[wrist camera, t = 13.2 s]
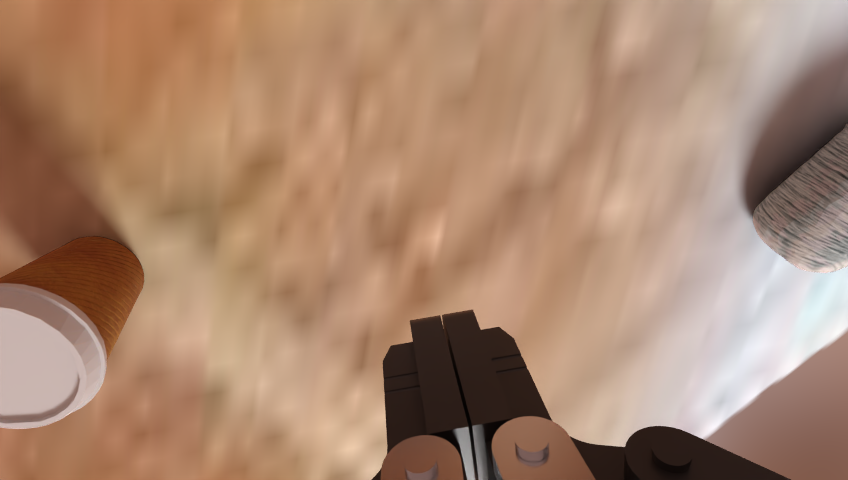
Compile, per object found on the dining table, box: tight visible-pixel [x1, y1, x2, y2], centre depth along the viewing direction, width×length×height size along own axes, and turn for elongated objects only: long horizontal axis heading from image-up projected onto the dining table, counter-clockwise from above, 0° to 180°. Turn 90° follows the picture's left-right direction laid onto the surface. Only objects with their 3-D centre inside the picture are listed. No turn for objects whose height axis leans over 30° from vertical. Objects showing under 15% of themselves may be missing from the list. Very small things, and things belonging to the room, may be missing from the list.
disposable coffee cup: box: [0, 236, 144, 429], centre depth 34 cm, size 10×10×12 cm
